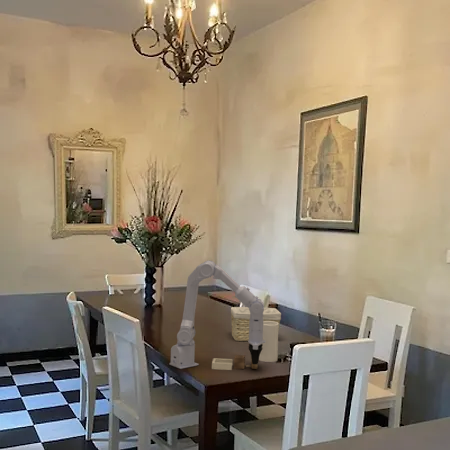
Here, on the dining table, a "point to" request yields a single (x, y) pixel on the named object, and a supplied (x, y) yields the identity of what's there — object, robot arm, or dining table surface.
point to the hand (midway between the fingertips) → (255, 362)
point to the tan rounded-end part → (242, 362)
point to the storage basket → (242, 321)
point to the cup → (270, 342)
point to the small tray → (222, 364)
